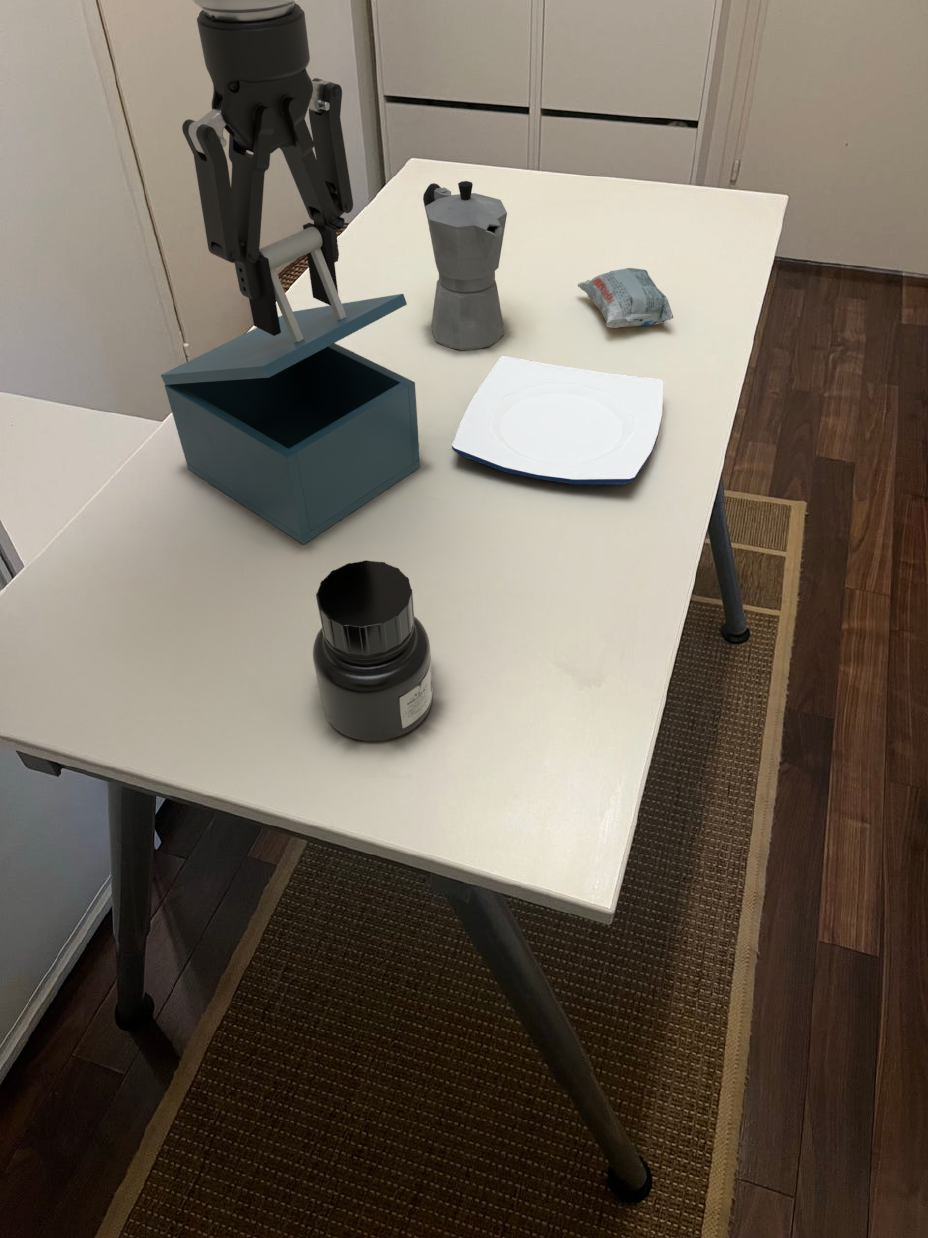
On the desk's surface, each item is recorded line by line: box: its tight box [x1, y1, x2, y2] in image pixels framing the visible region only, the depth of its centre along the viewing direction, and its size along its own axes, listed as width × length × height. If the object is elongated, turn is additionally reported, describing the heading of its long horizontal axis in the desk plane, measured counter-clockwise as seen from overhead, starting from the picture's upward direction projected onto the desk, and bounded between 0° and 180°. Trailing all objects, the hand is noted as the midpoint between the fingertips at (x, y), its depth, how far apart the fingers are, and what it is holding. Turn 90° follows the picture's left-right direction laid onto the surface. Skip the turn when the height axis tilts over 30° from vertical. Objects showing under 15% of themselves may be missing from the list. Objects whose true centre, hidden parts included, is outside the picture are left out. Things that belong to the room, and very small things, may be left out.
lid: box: [160, 227, 408, 386], centre depth 84 cm, size 19×16×9 cm
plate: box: [451, 355, 665, 485], centre depth 98 cm, size 20×20×3 cm
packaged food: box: [577, 267, 674, 329], centre depth 115 cm, size 9×12×5 cm
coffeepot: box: [422, 180, 508, 351], centre depth 109 cm, size 15×9×18 cm, turn 32°
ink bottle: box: [312, 559, 434, 741], centre depth 70 cm, size 10×9×12 cm
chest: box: [164, 342, 421, 545], centre depth 92 cm, size 18×16×10 cm
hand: (297, 314), depth 81 cm, fingers closed on lid, 6 cm apart
